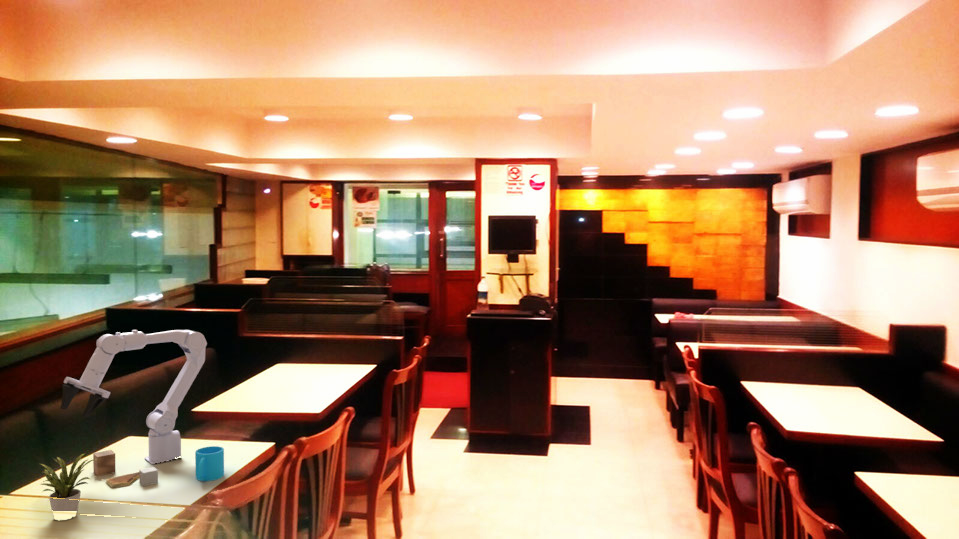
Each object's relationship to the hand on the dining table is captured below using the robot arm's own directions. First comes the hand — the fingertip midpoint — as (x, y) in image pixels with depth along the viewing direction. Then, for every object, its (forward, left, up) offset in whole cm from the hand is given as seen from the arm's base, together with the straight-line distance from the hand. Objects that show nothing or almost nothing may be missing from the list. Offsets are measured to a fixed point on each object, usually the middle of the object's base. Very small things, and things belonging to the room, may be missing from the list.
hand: (73, 413), depth 200 cm
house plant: (+7, +31, -20) cm, 38 cm away
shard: (-10, +12, -21) cm, 26 cm away
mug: (-30, +27, -20) cm, 45 cm away
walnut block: (-8, 0, -20) cm, 22 cm away
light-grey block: (-16, +19, -20) cm, 32 cm away
